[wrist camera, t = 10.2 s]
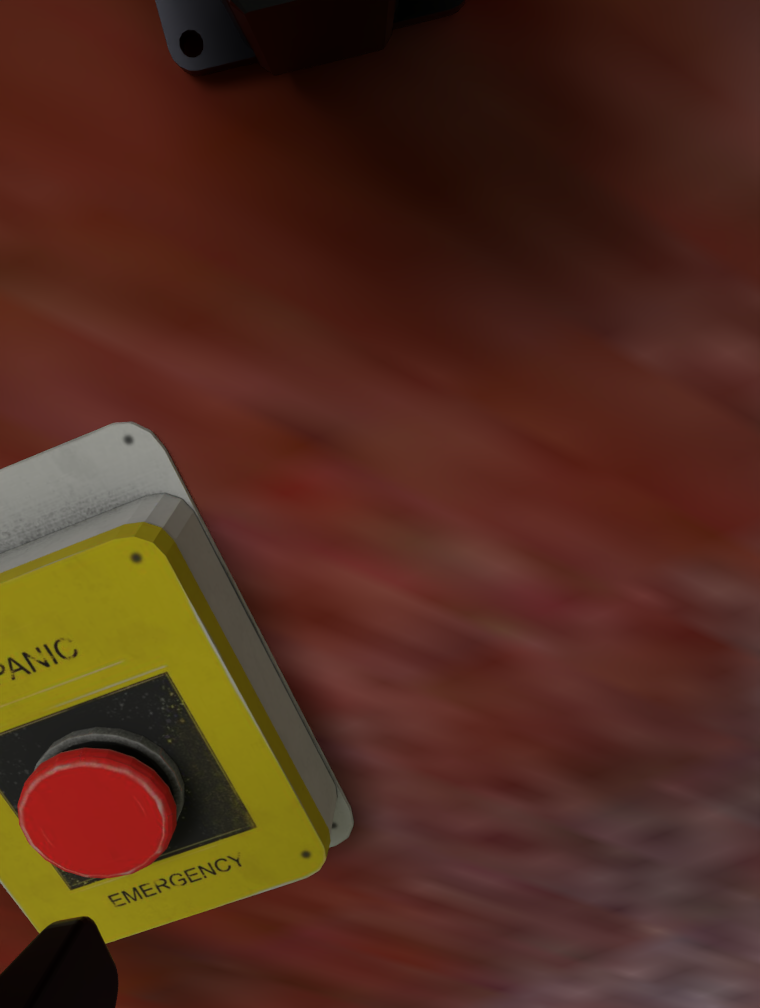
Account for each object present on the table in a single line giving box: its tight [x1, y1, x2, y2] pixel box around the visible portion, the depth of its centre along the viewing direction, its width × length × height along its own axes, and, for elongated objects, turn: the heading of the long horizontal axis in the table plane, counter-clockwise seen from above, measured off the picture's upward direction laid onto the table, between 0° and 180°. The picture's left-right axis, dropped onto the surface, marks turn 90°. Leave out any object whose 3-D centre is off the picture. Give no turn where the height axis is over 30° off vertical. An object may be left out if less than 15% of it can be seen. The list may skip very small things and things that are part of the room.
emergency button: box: [0, 422, 354, 944], centre depth 19 cm, size 9×4×15 cm
